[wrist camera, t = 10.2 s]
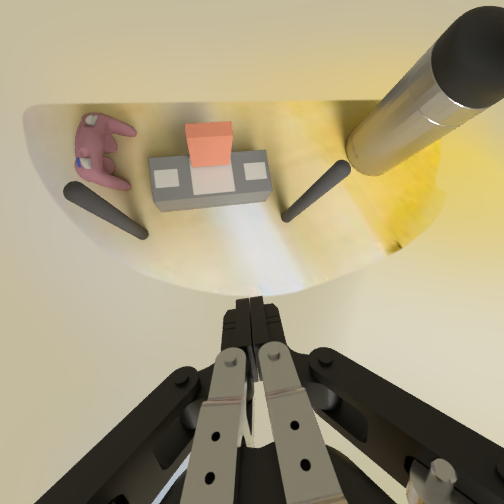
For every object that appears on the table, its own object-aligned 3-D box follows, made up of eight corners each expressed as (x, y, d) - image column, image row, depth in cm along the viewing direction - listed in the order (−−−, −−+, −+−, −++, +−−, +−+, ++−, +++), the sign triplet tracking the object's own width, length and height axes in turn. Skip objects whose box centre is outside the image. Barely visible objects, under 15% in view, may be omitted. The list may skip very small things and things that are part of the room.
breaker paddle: (227, 153, 34) (231, 121, 27) (229, 164, 34) (233, 135, 27) (190, 156, 33) (184, 123, 27) (192, 167, 33) (186, 138, 26)
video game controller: (117, 134, 39) (73, 103, 33) (140, 129, 38) (99, 97, 31) (110, 194, 38) (63, 176, 32) (134, 192, 37) (89, 172, 30)
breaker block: (259, 164, 40) (265, 148, 35) (265, 201, 40) (272, 190, 35) (156, 172, 38) (148, 156, 33) (161, 212, 37) (153, 201, 32)
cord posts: (290, 212, 40) (349, 159, 23) (291, 221, 40) (352, 176, 22) (136, 229, 37) (62, 182, 19) (137, 240, 36) (64, 202, 19)
